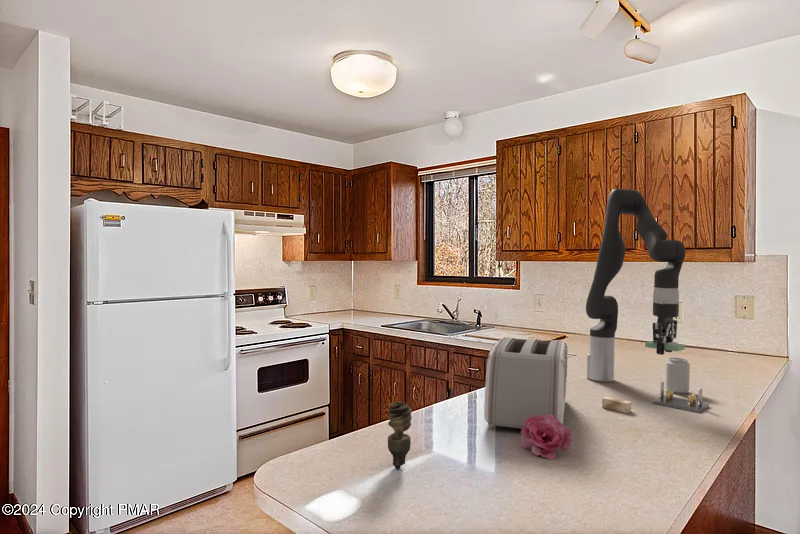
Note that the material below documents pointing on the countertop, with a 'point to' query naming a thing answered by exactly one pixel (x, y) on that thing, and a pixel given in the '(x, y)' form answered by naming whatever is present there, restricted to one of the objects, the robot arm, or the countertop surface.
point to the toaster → (524, 381)
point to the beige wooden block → (616, 404)
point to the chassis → (681, 401)
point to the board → (666, 345)
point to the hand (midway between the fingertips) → (664, 352)
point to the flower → (545, 435)
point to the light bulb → (399, 432)
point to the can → (677, 375)
